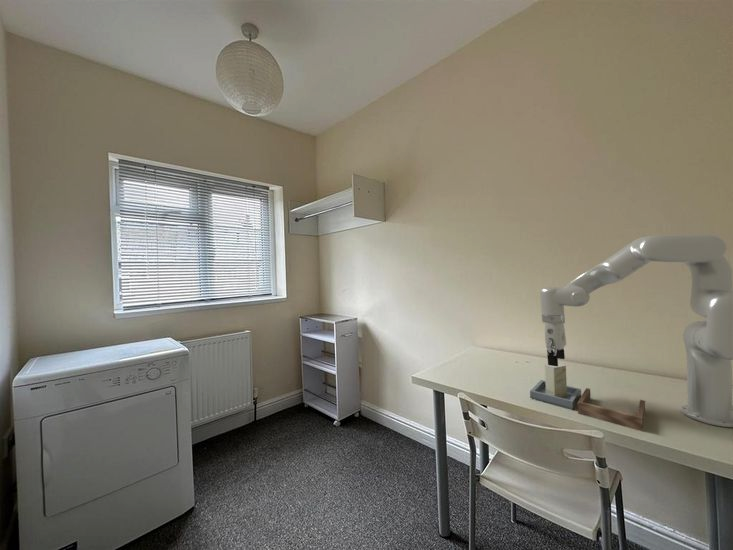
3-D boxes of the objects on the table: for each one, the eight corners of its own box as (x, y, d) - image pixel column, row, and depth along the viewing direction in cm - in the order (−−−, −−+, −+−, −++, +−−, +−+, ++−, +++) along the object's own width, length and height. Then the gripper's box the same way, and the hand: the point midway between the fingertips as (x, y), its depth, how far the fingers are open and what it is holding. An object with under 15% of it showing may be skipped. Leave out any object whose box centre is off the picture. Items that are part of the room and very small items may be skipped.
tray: (581, 396, 113) (581, 388, 113) (572, 410, 104) (572, 401, 104) (541, 386, 123) (541, 379, 123) (530, 398, 114) (529, 391, 114)
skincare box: (555, 399, 111) (554, 367, 110) (545, 394, 115) (544, 364, 115) (567, 396, 112) (566, 365, 112) (557, 391, 117) (556, 361, 116)
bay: (645, 412, 100) (645, 400, 99) (642, 431, 89) (641, 418, 89) (586, 398, 112) (586, 387, 111) (577, 413, 101) (577, 402, 101)
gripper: (558, 323, 104) (562, 370, 104) (570, 315, 116) (573, 357, 116) (535, 322, 109) (538, 366, 110) (548, 314, 121) (551, 354, 121)
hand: (556, 361), depth 113 cm, fingers open, 9 cm apart
